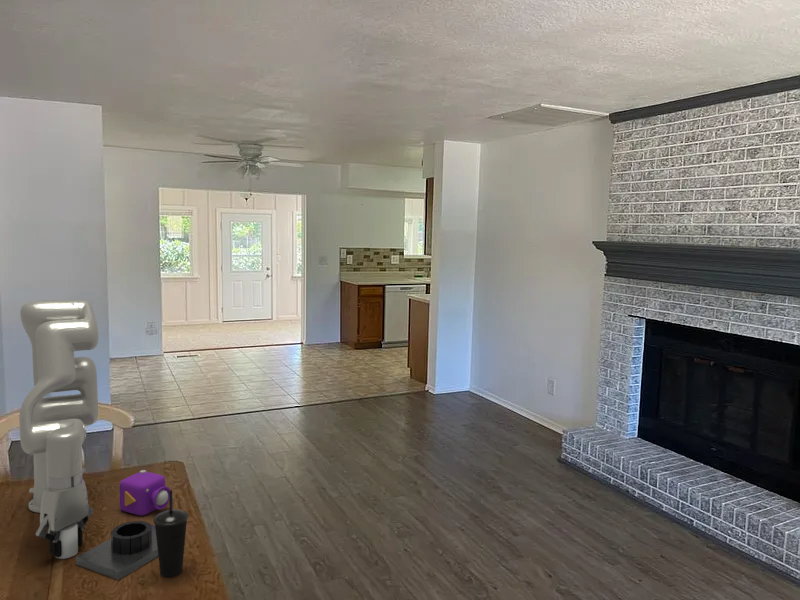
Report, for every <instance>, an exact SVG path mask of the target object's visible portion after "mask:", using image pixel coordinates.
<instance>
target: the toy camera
mask: <svg viewBox="0 0 800 600" xmlns="http://www.w3.org/2000/svg"><path fill="white" fill-rule="evenodd" d="M170 490H171V489H170V487H169V486H166V478H165V476H163V475H162V474H159V473H154V472H150V471H147V470H145V469H142V470H140V471H139V472H137V473H135V474H132V475H129V476H128V477H126V478H123V479H122V480H120V482H119V508H120V510H121V511H123V512H125V513H130V514H132V515H136V516H141V517H144V516H146V515H149V514H150V513H152V512H154V511H156V510H158V511H159V510H160V511H161V510H163V509H165V508H166V507H167V505H169V491H170Z"/></svg>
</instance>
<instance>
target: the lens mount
mask: <svg viewBox="0 0 800 600" xmlns="http://www.w3.org/2000/svg"><path fill="white" fill-rule="evenodd" d="M157 557H158V547H157V538H156V529H155V524H152V523H150V522H147V521H143V520H134V521H133V520H132V521H128V522H123V523H121V524H119V525H117V526H114V528H113V529H112V530H111V531H110V538H109V539H107V540H106V541H104V542H102V543H99V545H96V546H94V547H93V548H90V549H89V550H87V551H85V552H83V553H81V554H79V555H76V557H75V560H76V561H75V562H76V563H75V565H76V566H79V567H81V568H84V569H87V570H88V571H89V570H90V571H93V572H95V573H98V574H100V575H103V576H106V577H109V578H112V579H115V580H116V581H120V580H121V579H123V578H125V577H127V576H128V575H130V574H131V573H133V572H134V571H136V570H138V569H140V568H141V567H143V566H145V565H147V564H149V562H151V561H152V560H154V559H156V558H157ZM158 558H159V557H158Z"/></svg>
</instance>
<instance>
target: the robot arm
mask: <svg viewBox="0 0 800 600" xmlns="http://www.w3.org/2000/svg"><path fill="white" fill-rule="evenodd" d="M19 316H20V319H21V324H22V327H23V329H24V330H25V333H26V335H27V337H28V338H29V341H30V344H31V351H32V353H31V354H32V374H33V375H32V378H33V379H32V380H33V385H34V387H33V388H32V389H31V390H30V391H29V392H28V394H27V395H26V396H25V398H24V400H23V401H22V403H21V407H20V410H19V415H18V416H19V421H18V422H19V439H20V447H21V449H22V451H23V452H24V453H26V454H28V455H32V456H33V477H34V478H33V481H34V485H33V487H30V488H29V490H28V492H29V493H30V494H32V495H33V498H32V499H30V501H29V502H28V509H29V511H31V512H34V513H37V514H38V513H39V527H38V529H37V530H36V532H35V536H36V537H39V538H42V539H45V540H47V541H48V542H49V543H48V545H49V554H50V555H51V556H53V557H54V558H56V557H58V558H57V559H59V557H61V555H62V554H61V541H59V537H60V532H61V529H62V528H64V527H67V526H69V525H71V524H73V523H75V522H76V523H77V524H78V548H79V547H82V546H83V530H85V527H86V526H85V525H86V524H87V522H88V521H89V518H90V517H91V515H92V514H93V513H94V510H95V509H93V508H92V507H91V506H90V505H89V498H88V491H87V486H86V482H85V480H84V479H83V474H85V473H86V468H85V467H83V448H82V446H83V443H84V441H85V440H86V438H87V428H86V426H91V425H93V424H95V423H96V422H97V420H98V416H99V395H98V374H97V367H96V364H95V361H94V360H93V359H92V358H90V357H87V356H78V357H76V356H75V352H79V351H91V350H94V349H95V348H97V345H98V344H99V328H98V324H97V323H98V322H97V319H96V316H95V311H94V307H93V305H92V304H91V302H90V301H89V300H85V299H59V300H58V299H51V300H50V299H49V300H47V299H46V300H34V301H29V302H26V303H24V304H22V306H21V308H20V314H19ZM71 391H79V393H78V394H69V395H68V394H66V395H57V396H48V397H47V395H49V394H52V393H59V392H60V393H61V392H62V393H63V392H71ZM45 396H46V397H45ZM54 531H55V533H54Z"/></svg>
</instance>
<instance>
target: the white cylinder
mask: <svg viewBox="0 0 800 600" xmlns="http://www.w3.org/2000/svg"><path fill="white" fill-rule="evenodd" d="M54 533H55V531H54ZM59 541H61V554H62V555H61V557H59V558H58V557H55V558H56V559H60V560H65V559H69V558H73V557H74V556H77V554H78V552H79V546H78V524H77V523H76V522H75V523H73V524H71V525H69V526H67V527H64V528H62V529H61V532H60V537H59Z"/></svg>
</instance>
